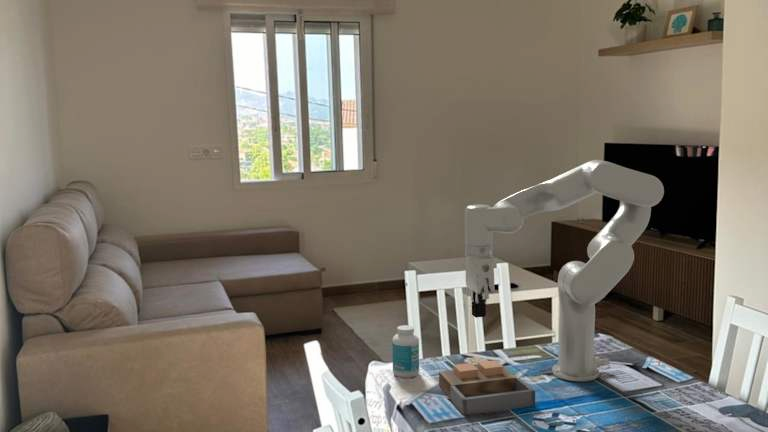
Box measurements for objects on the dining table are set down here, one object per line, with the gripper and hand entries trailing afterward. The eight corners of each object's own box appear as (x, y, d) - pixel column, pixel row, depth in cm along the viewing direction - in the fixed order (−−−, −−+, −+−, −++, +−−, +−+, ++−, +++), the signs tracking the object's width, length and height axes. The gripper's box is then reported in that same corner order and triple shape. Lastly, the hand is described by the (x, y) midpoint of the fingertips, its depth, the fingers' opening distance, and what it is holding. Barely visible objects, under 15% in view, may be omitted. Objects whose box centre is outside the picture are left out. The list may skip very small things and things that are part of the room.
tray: (519, 392, 181) (519, 377, 180) (535, 405, 172) (535, 390, 172) (450, 400, 176) (450, 385, 175) (463, 415, 167) (463, 399, 167)
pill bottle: (417, 379, 191) (416, 332, 189) (390, 378, 192) (389, 331, 190) (421, 369, 198) (420, 324, 196) (395, 368, 199) (394, 323, 197)
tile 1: (470, 370, 186) (470, 362, 186) (477, 376, 181) (477, 369, 181) (453, 372, 185) (453, 364, 185) (460, 378, 180) (460, 371, 180)
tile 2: (495, 367, 188) (495, 360, 187) (502, 373, 183) (502, 366, 183) (477, 369, 187) (477, 362, 186) (485, 375, 182) (485, 368, 181)
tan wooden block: (501, 378, 190) (501, 364, 190) (517, 392, 181) (517, 377, 180) (439, 385, 186) (439, 371, 185) (452, 400, 176) (451, 385, 176)
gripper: (503, 254, 181) (502, 322, 184) (480, 244, 196) (480, 307, 199) (476, 256, 180) (476, 325, 182) (455, 246, 194) (456, 309, 197)
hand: (478, 315), depth 191 cm, fingers closed
